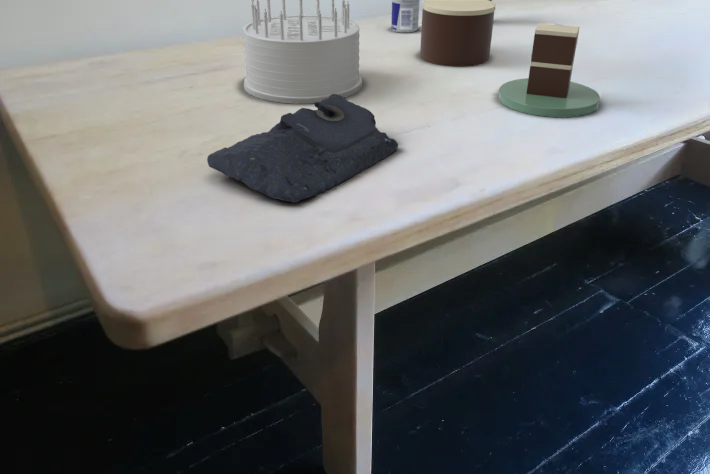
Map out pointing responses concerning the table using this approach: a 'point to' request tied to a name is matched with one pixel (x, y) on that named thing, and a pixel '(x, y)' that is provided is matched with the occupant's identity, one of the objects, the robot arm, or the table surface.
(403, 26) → the energy drink
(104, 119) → the table surface
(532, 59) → the cake slice
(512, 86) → the plate
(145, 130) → the table surface
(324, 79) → the cake
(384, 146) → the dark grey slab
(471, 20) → the cake
